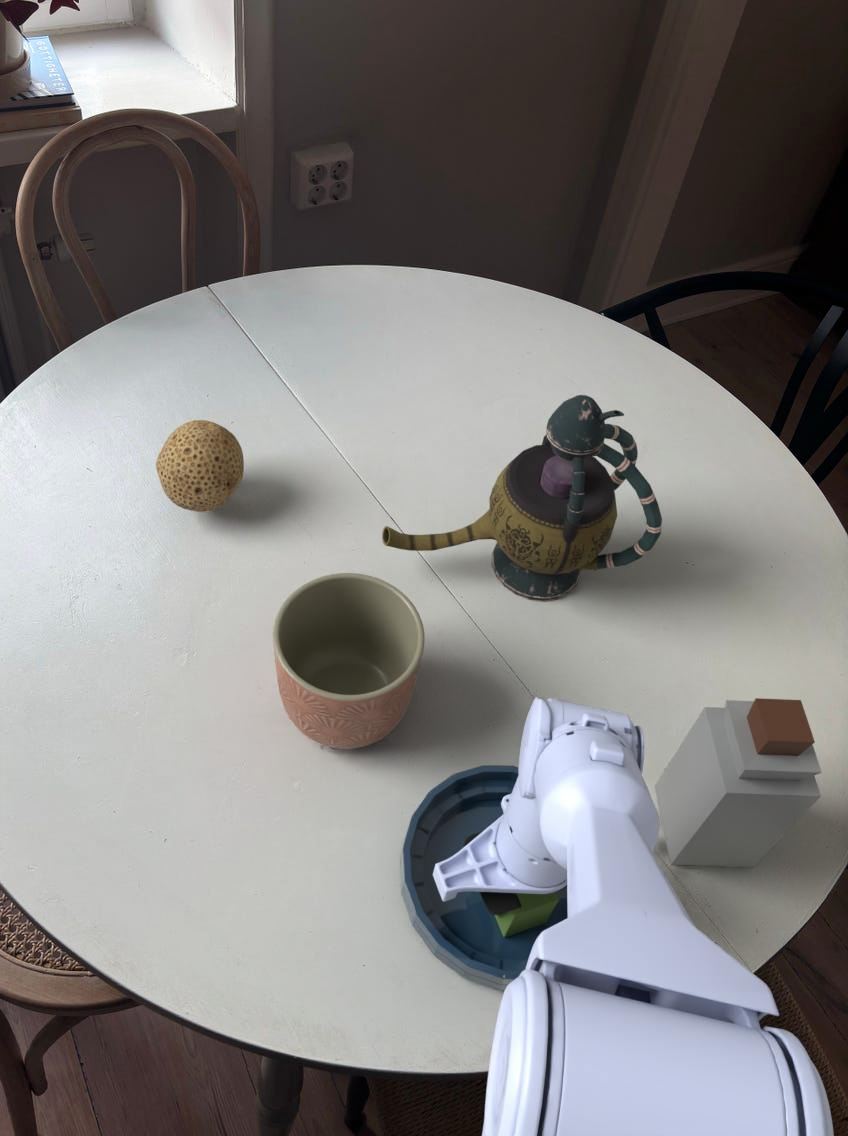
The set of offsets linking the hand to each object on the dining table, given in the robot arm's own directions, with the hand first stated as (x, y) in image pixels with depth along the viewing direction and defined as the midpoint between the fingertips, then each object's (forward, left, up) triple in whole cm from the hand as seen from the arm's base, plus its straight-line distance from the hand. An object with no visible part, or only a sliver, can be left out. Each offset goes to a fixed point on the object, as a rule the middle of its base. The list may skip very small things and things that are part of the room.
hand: (515, 892), depth 72 cm
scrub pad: (0, 0, -1) cm, 1 cm away
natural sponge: (+48, +14, -2) cm, 50 cm away
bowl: (+2, 0, -2) cm, 3 cm away
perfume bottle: (+1, -18, -2) cm, 18 cm away
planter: (+21, +7, -2) cm, 22 cm away
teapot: (+31, -13, -2) cm, 33 cm away
